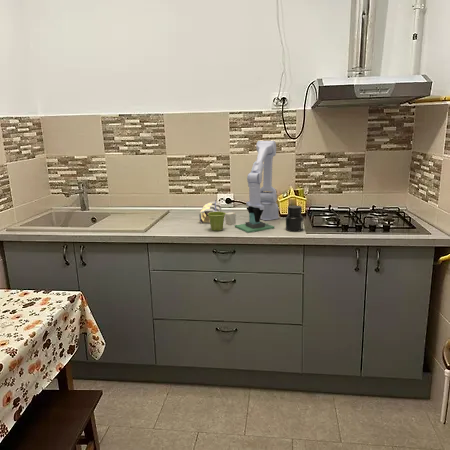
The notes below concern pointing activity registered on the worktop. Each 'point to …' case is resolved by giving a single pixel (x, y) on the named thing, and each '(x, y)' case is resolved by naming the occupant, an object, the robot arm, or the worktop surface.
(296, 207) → the ink bottle
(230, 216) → the offwhite plug
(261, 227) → the board
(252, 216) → the teal plug
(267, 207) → the robot arm
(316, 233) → the worktop surface
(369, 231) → the worktop surface
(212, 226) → the plant pot
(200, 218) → the yellow striped curved piece
